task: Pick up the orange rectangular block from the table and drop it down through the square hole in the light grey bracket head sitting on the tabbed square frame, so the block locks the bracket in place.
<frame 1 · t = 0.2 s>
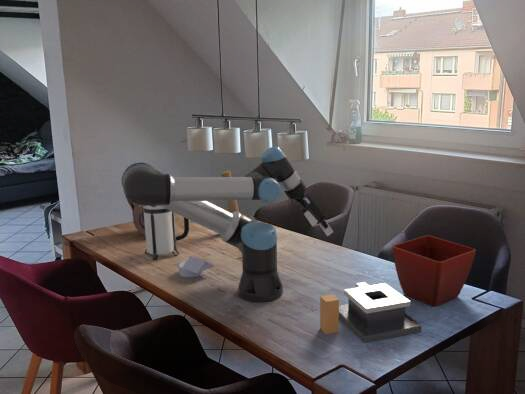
hand: (322, 228, 196), 16 cm above the table, tool tilted 35°, fingers open, 13 cm apart
plant pot: (430, 296, 173), on the table
lavender faceted polyhedron: (195, 274, 197), on the table
coffee press: (164, 254, 220), on the table
orange rectangular block: (329, 330, 152), on the table
tabbed square frame: (375, 321, 157), on the table
ceramic pitcher: (149, 234, 248), on the table
hammer: (237, 232, 247), on the table
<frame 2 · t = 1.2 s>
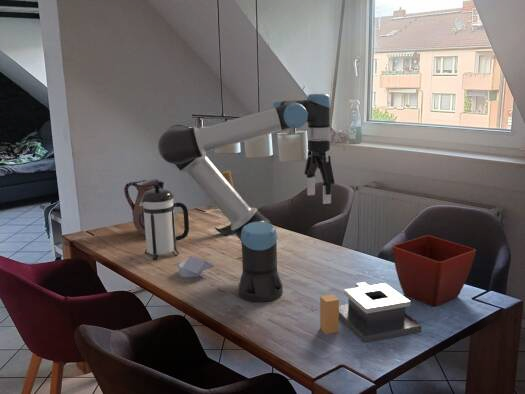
hand: (318, 199, 187), 29 cm above the table, tool pointing down, fingers open, 13 cm apart
nothing on the table moved.
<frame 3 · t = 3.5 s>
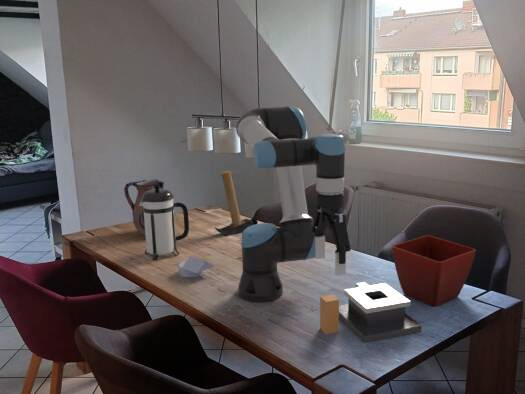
hand: (329, 265, 148), 20 cm above the table, tool pointing down, fingers open, 13 cm apart
nothing on the table moved.
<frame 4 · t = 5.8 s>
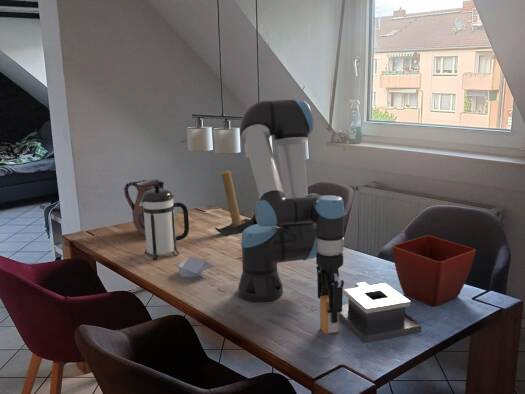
hand: (329, 327, 152), 1 cm above the table, tool pointing down, fingers closed on orange rectangular block, 4 cm apart
orange rectangular block: (329, 330, 152), on the table, touching gripper
everything else where it was.
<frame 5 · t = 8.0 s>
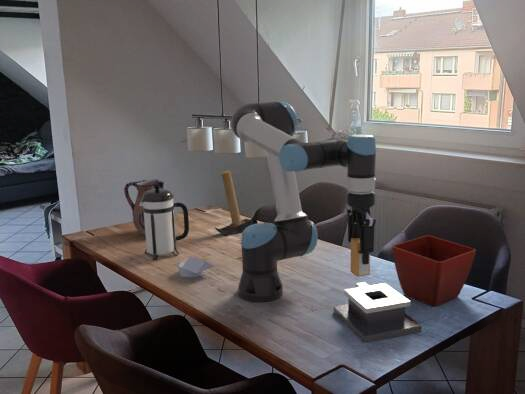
hand: (360, 271, 150), 17 cm above the table, tool pointing down, fingers closed on orange rectangular block, 4 cm apart
orange rectangular block: (359, 273, 151), point 16 cm above the table, touching gripper
everything else where it was.
when the fingers open (11 cm above the table, at t = 10.1 s): orange rectangular block drops 8 cm, resting on tabbed square frame.
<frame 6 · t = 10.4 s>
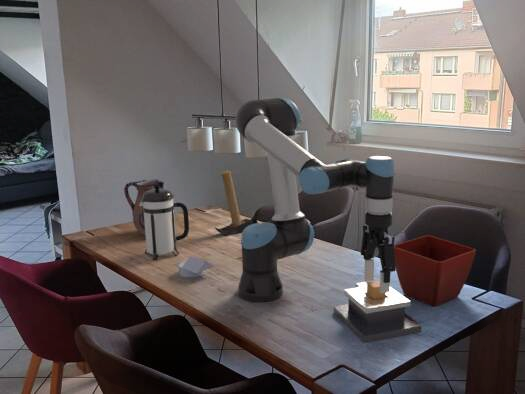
hand: (376, 286, 154), 11 cm above the table, tool pointing down, fingers open, 8 cm apart
orange rectangular block: (375, 315, 156), point 2 cm above the table, touching tabbed square frame
everything else where it was.
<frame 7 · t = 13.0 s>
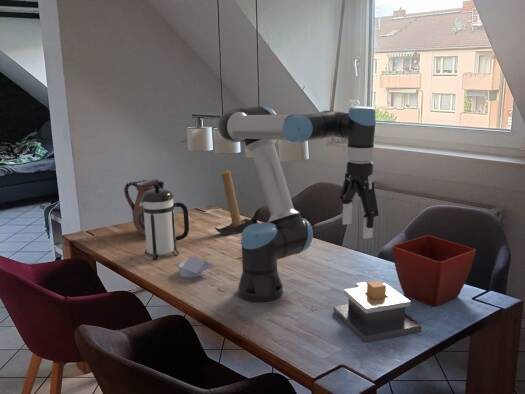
hand: (356, 230, 158), 26 cm above the table, tool pointing down, fingers open, 13 cm apart
nothing on the table moved.
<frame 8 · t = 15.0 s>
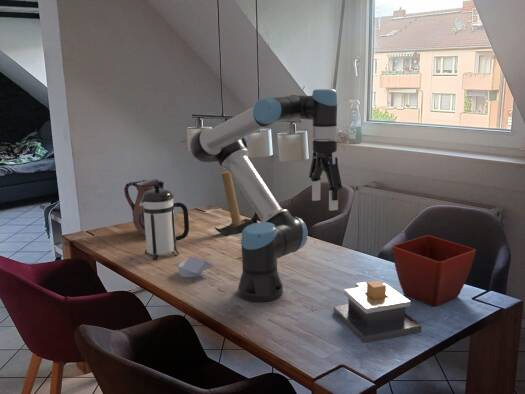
hand: (324, 205, 170), 31 cm above the table, tool pointing down, fingers open, 13 cm apart
nothing on the table moved.
at the end: orange rectangular block 0.0 cm off-centre on the tabbed square frame, point 2.0 cm above the tabbed square frame's base; orange rectangular block tilted 0°; the gripper is holding nothing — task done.
